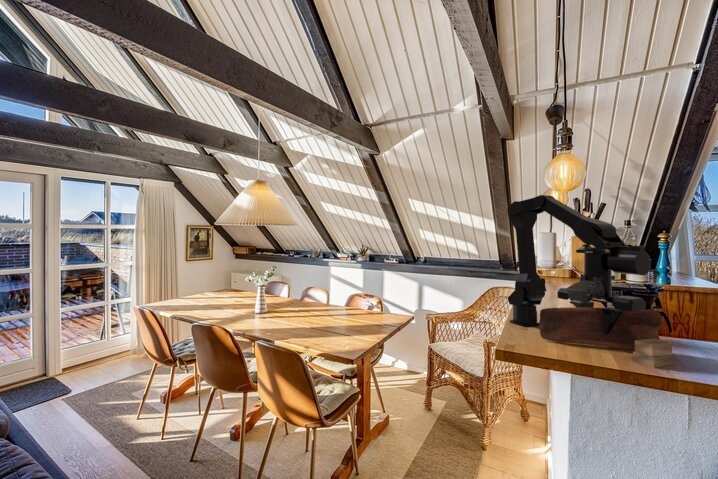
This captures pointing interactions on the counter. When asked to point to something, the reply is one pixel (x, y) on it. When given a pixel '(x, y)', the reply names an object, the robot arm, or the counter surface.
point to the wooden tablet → (598, 327)
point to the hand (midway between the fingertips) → (597, 331)
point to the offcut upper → (653, 347)
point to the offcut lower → (653, 360)
